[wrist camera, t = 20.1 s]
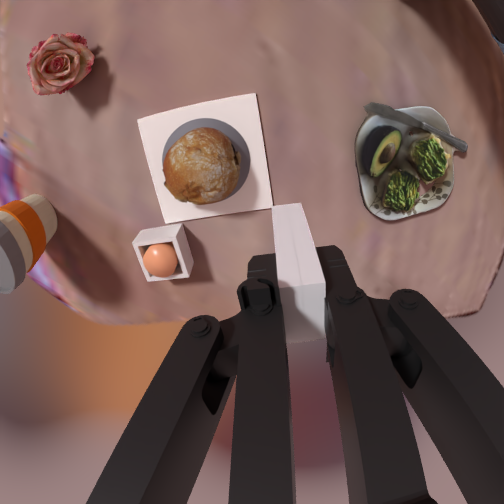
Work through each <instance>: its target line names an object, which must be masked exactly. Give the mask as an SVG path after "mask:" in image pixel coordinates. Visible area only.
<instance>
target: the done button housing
mask: <svg viewBox="0 0 504 504" xmlns="http://www.w3.org/2000/svg"><path fill="white" fill-rule="evenodd" d="M171 241H173V244H174V248H175V251H176V254H177V257H178V260H179V261H178V264H177V266H176V268H175V271H174V272H173V274H172V275H170V276H168V277H164V278H161V277H156V276H154V275H152V274H150V273H149V272H148V271H147V270H146V268H145V267H144V264H143V256H144V254H145V253H146V251H147V249H148V248H149V246H150V244H157V243H164V242H171ZM132 244H133V247H134V249H135V252H136V254H137V257H138V259H139V262H140V264H141V267H142V269H143V272H144V274H145V276H146V279H147V281H158V280H168V279H178V278H187V277H189V276H190V273H191V270H192V267H193V264H194V260H193V257H192V254H191V251H190V247H189V244H188V241H187V237H186V234H185V231H184V227H183V224H182V223H181V224H174V225H168V226H162V227H156V228H150V229H145V230H141V231H140V232H139V234H138V235H137V237H136V238H135V239H134V241H133V242H132Z"/></svg>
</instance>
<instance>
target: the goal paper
mask: <svg viewBox="0 0 504 504" xmlns="http://www.w3.org/2000/svg"><path fill="white" fill-rule="evenodd" d="M137 121H138V125H139V130H140V134H141V138H142V142H143V146H144V150H145V154H146V157H147V161H148V165H149V169H150V172H151V176H152V179H153V183H154V187H155V190H156V193H157V197H158V200H159V204H160V207H161V210H162V214H163V217H164V220H165V223H172V222H178V221H185V220H191V219H197V218H204V217H210V216H217V215H224V214H231V213H238V212H245V211H252V210H260V209H267V208H272V206H273V202H272V195H271V188H270V182H269V175H268V168H267V161H266V155H265V148H264V142H263V136H262V129H261V123H260V117H259V111H258V105H257V99H256V93H252V94H246V95H240V96H234V97H228V98H223V99H217V100H212V101H207V102H203V103H198V104H194V105H189V106H185V107H181V108H177V109H173V110H169V111H165V112H162V113H158V114H155V115H151V116H148V117H144V118H141V119H138V120H137ZM201 127H209V128H214V129H217V130H219V131H221V132H222V133H224V134H225V135H226V136H227V137H228V138H229V140H230V141H231V143H232V145H233V146H234V148H235V151H239V152H240V154H241V163H240V167H241V168H240V174H239V179H238V182H237V185H236V187H235V189H234V190H233V191H232V193H231V194H230V195H229V196H228V197H226V198H225V199H223V200H222V201H219V202H216V203H212V204H205V205H196V204H193V203H191V202H188V201H187V203H185V202H180V201H178V200H177V199H175V198H174V196H173V195H172V194H171V193H170V191H169V190H168V189H167V188H166V187H165V186H164V182H165V181H166V180H165V176H164V173H163V171H162V169H163V162H164V159H165V156H166V153H167V152H168V150H169V148H171V146H172V145H173V144H174V143H175V142H176V141H177V140H179V139H180V138H181V137H182V136H184V135H185V134H186V133H187V132H189V131H191V130H193V129H196V128H201Z"/></svg>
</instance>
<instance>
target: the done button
mask: <svg viewBox="0 0 504 504" xmlns="http://www.w3.org/2000/svg"><path fill="white" fill-rule="evenodd" d="M178 261H179V260H178V257H177V254H176V251H175V248H174V244H173V241H171V242H164V243H157V244H150V246H149V248H148V249H147V251H146V253H145V254H144V256H143V264H144V267H145V268H146V270H147V271H148V272H149V273H150V274H152V275H154V276H156V277H161V278H164V277H168V276H170V275H172V274H173V272H174V271H175V268H176V266H177V264H178Z"/></svg>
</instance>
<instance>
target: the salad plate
mask: <svg viewBox="0 0 504 504" xmlns="http://www.w3.org/2000/svg"><path fill="white" fill-rule="evenodd" d="M364 108H365V111H367V116H366V118H365V120H364V122H363V123H362V125H361V127H360V128H359V130H358V132H357V135H356V138H355V157H356V167H357V172H358V178H359V184H360V193H361V196H362V200H363V203H364V206H365V207H366V208H367V209H368V210H369V211H370V212H371V213H373V214H374V215H375V216H377V217H379V218H381V219H383V220H388V221H389V220H397V219H401V218H405V217H408V216H411V215H415V214H418V213H422V212H426V211H429V210H432V209H434V208H437V207H439V206H441V205H442V204H443V203H444V202H445V200H446V199H447V198H448V196H449V194H450V193H451V190H452V188H453V184H454V166H453V153H454V152H455V151H460V152H466V151H467V148H468V145H467V144H466V142H464V141H462V140H460V139H458V138H456V137H455V136H453V135H452V134H451V132H450V129H449V126H448V124H447V122H446V120H445V119H444V118H443V117H442V116H441V115H440V114H439V113H438V112H437V111H436V110H434V109H433V108H431V107H424V106H416V107H410V108H403V109H398V110H394V109H392V108H391V107H390V106H387V105H383V104H379V103H372V102H371V103H370V104H368V105H366V106H364ZM410 131H412V132H413V136H410V134H409V132H410ZM399 169H401V170H402V171H400V170H399ZM420 179H422V180H423V182H424V183H425V184H426V185H427V184H429V183H432V182H433V181H435V180H436V181H435V183H434V184H433V186H432V187H431V188H430V189H429V190H428V191H427V192H426V193H425V194H423V195H422V196H420V197H419V192H417V188H418V187H419V185H420V184H419V180H420Z"/></svg>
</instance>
